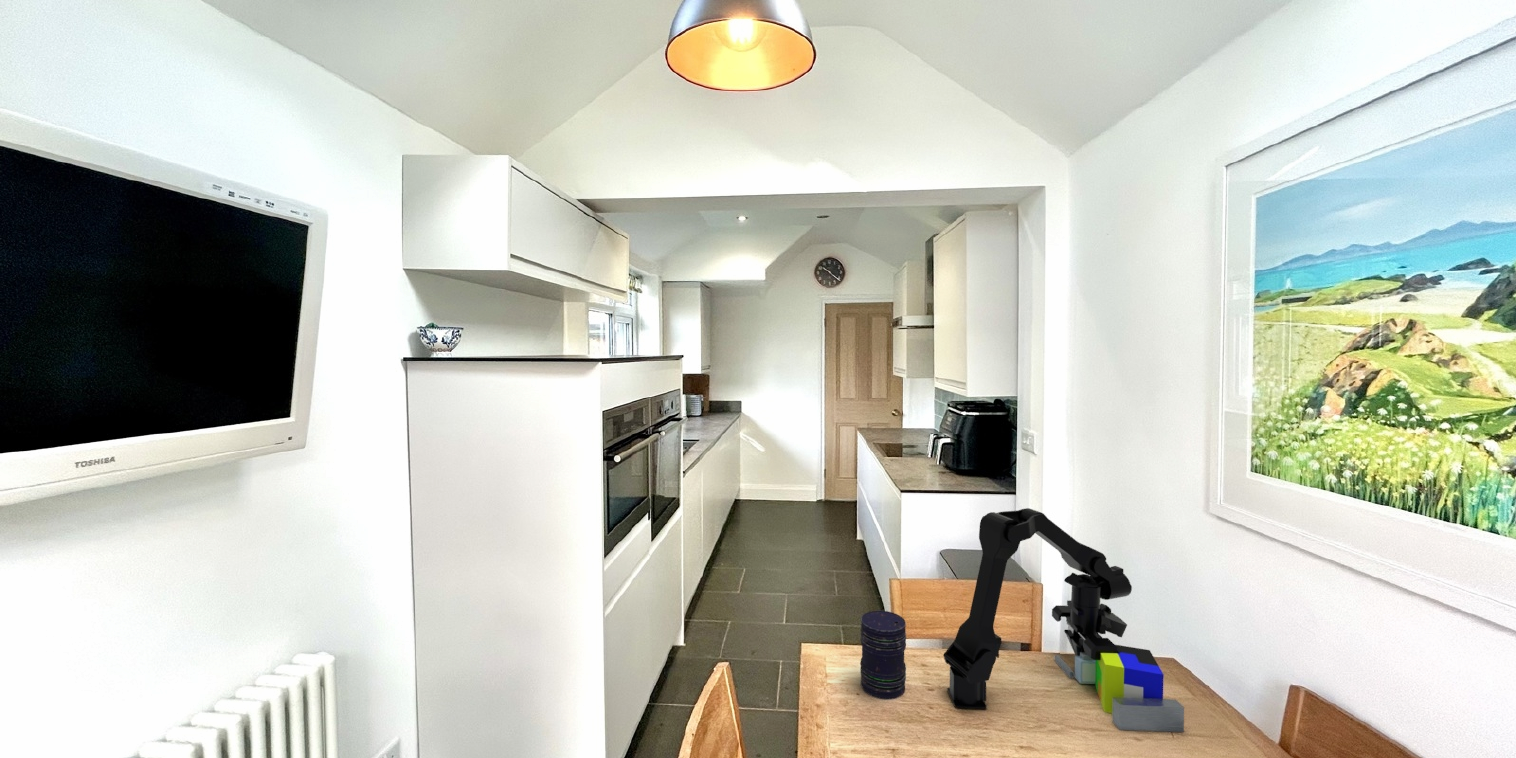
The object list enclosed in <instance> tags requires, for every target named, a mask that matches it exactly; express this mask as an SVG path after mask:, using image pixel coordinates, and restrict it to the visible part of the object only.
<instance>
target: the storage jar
mask: <svg viewBox="0 0 1516 758" xmlns="http://www.w3.org/2000/svg"><path fill="white" fill-rule="evenodd" d="M860 618H861V619H860V622H861V623H860V624H861V625H860V644H861V658H860V663H859V664H860V668H859V669H860V686H861V688H862V691H864V692H865V693H866V694H868V695H869V696H871V697H873V698H876V699H879V700H895V699H898V698H901V697H902V696H903V695H904V694H905V691H906V685H905V684H906V679H907V676H906V675H907V672H906V671H907V666H906V662H905V650H906V646H907V641H906V640H907V633H906V625H907V623H906V620H905V618H904V617H902V616H901V615H899V614H897V613H895V612H891V611H887V610H871V611H868V612H865V613H864V614H862V615H861V617H860Z"/></svg>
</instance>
